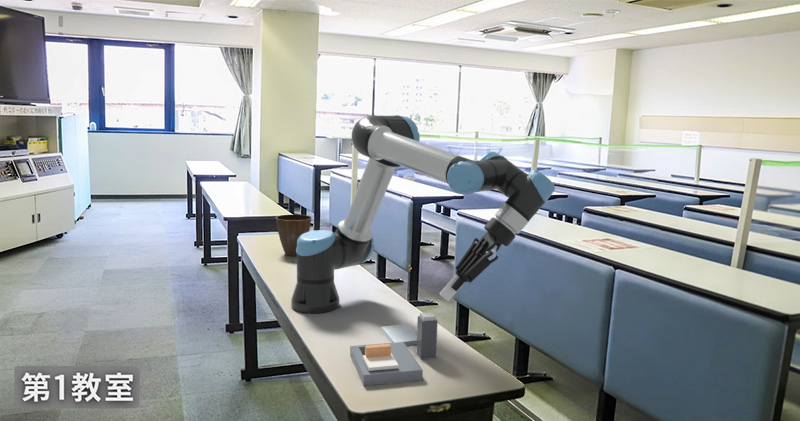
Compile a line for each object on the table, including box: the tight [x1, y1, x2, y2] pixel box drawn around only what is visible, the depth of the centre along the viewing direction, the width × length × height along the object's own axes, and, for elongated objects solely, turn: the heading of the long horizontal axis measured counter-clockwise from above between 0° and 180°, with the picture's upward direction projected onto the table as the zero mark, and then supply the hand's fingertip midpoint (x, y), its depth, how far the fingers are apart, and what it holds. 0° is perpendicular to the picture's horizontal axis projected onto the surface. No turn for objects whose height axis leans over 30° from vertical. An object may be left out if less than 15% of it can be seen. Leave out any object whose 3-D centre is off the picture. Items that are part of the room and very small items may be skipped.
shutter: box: [363, 343, 398, 371], centre depth 138 cm, size 7×7×3 cm
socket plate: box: [349, 342, 424, 386], centre depth 143 cm, size 17×14×2 cm
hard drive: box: [380, 323, 417, 346], centre depth 163 cm, size 2×8×12 cm
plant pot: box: [275, 214, 312, 257], centre depth 250 cm, size 15×15×16 cm
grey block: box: [416, 311, 438, 360], centre depth 149 cm, size 4×4×11 cm
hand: (443, 297), depth 147 cm, fingers closed
